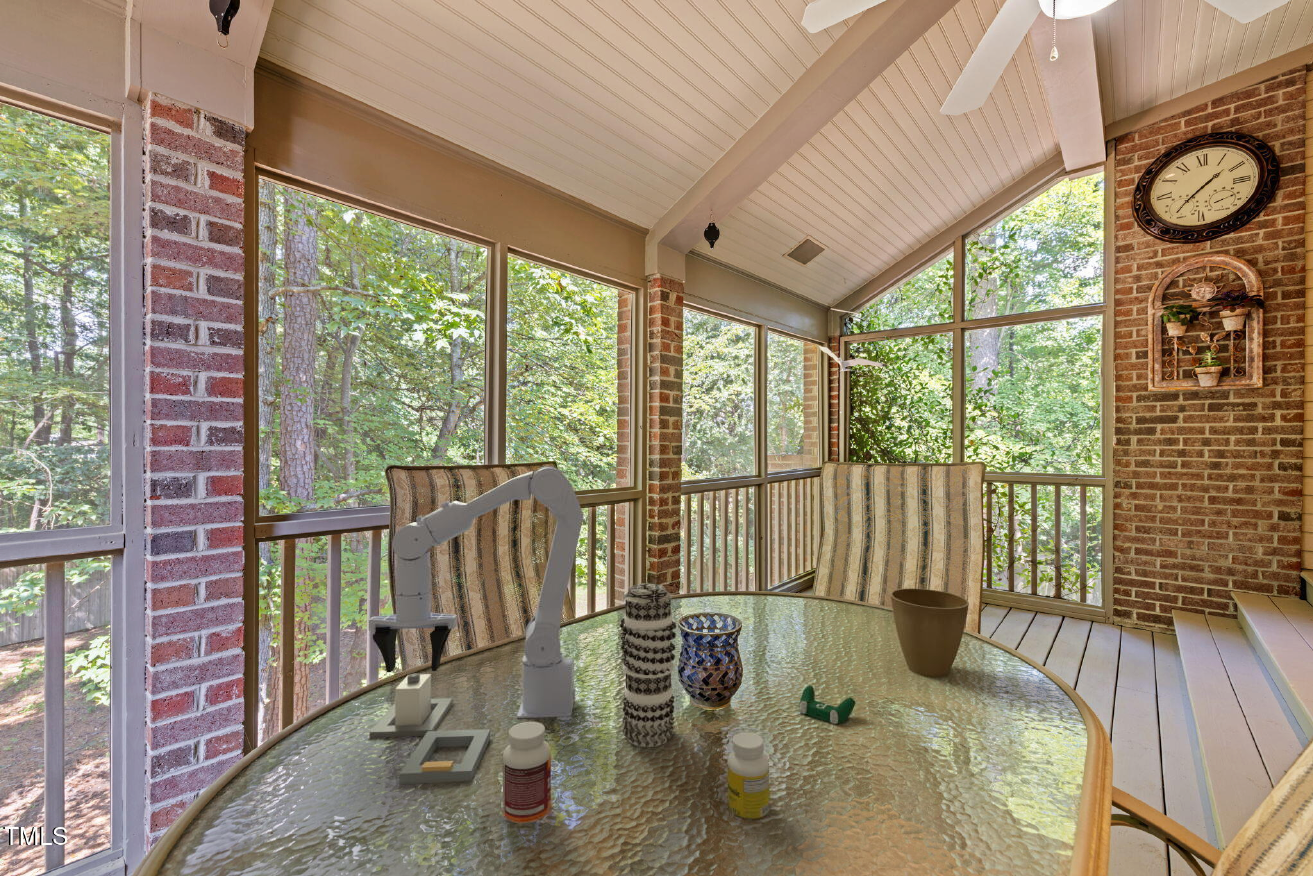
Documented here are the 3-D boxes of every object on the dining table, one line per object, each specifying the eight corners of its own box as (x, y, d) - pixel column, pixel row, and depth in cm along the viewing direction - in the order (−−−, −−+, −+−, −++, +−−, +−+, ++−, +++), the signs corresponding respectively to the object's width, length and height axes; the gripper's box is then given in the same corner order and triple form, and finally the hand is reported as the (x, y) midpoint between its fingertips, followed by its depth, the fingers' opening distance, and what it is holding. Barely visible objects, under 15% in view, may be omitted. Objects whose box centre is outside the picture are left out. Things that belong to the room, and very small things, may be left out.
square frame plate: (452, 704, 108) (452, 698, 108) (431, 737, 96) (431, 730, 96) (397, 706, 107) (397, 699, 107) (369, 739, 95) (369, 732, 95)
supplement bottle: (724, 802, 78) (723, 730, 78) (763, 800, 79) (763, 728, 79) (732, 829, 73) (732, 751, 73) (774, 826, 73) (774, 749, 73)
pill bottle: (558, 818, 75) (558, 733, 75) (512, 836, 72) (512, 747, 72) (540, 794, 80) (540, 714, 80) (496, 809, 77) (496, 726, 77)
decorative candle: (657, 760, 89) (657, 597, 89) (609, 744, 94) (608, 589, 94) (686, 734, 96) (686, 584, 97) (640, 720, 101) (640, 577, 101)
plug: (430, 713, 105) (430, 668, 105) (419, 729, 99) (419, 682, 99) (408, 713, 104) (408, 669, 104) (395, 730, 98) (395, 683, 98)
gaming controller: (808, 703, 108) (792, 715, 103) (807, 683, 108) (792, 694, 103) (856, 719, 102) (843, 732, 97) (856, 697, 102) (843, 709, 97)
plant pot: (891, 681, 118) (890, 602, 118) (891, 656, 131) (890, 585, 131) (974, 693, 112) (973, 610, 112) (964, 665, 126) (964, 591, 126)
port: (490, 741, 94) (490, 725, 94) (471, 785, 82) (471, 766, 82) (427, 743, 94) (427, 727, 94) (399, 787, 82) (399, 769, 82)
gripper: (461, 585, 106) (461, 659, 106) (380, 586, 105) (380, 661, 105) (450, 595, 99) (450, 675, 99) (363, 597, 98) (363, 677, 98)
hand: (413, 669), depth 102 cm, fingers open, 7 cm apart
